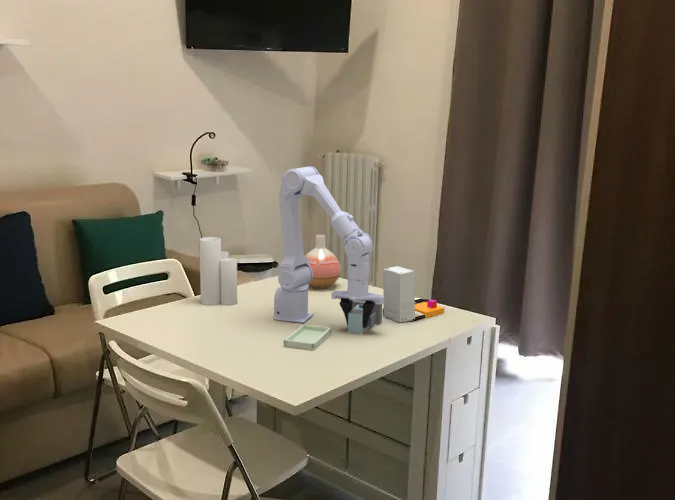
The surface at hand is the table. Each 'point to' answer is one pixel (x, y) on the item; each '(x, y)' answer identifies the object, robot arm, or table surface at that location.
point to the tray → (307, 337)
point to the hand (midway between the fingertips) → (357, 325)
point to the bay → (372, 313)
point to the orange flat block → (429, 308)
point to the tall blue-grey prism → (356, 320)
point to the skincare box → (399, 293)
